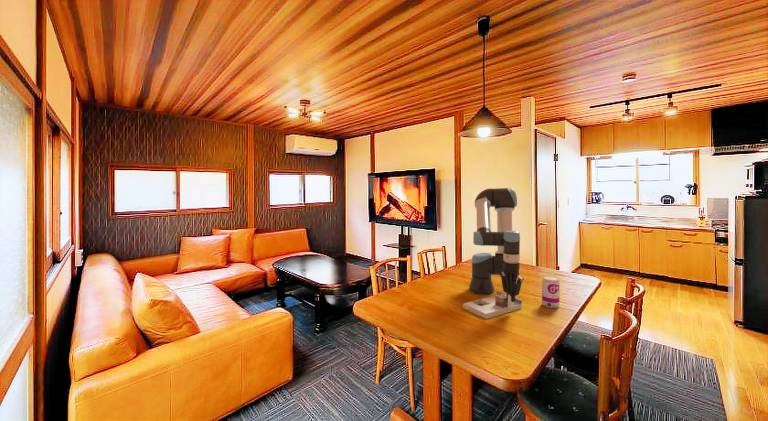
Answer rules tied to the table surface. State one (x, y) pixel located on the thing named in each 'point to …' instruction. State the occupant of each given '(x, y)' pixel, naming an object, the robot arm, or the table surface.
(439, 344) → the table surface
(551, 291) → the soda can
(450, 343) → the table surface
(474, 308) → the box
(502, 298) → the block
